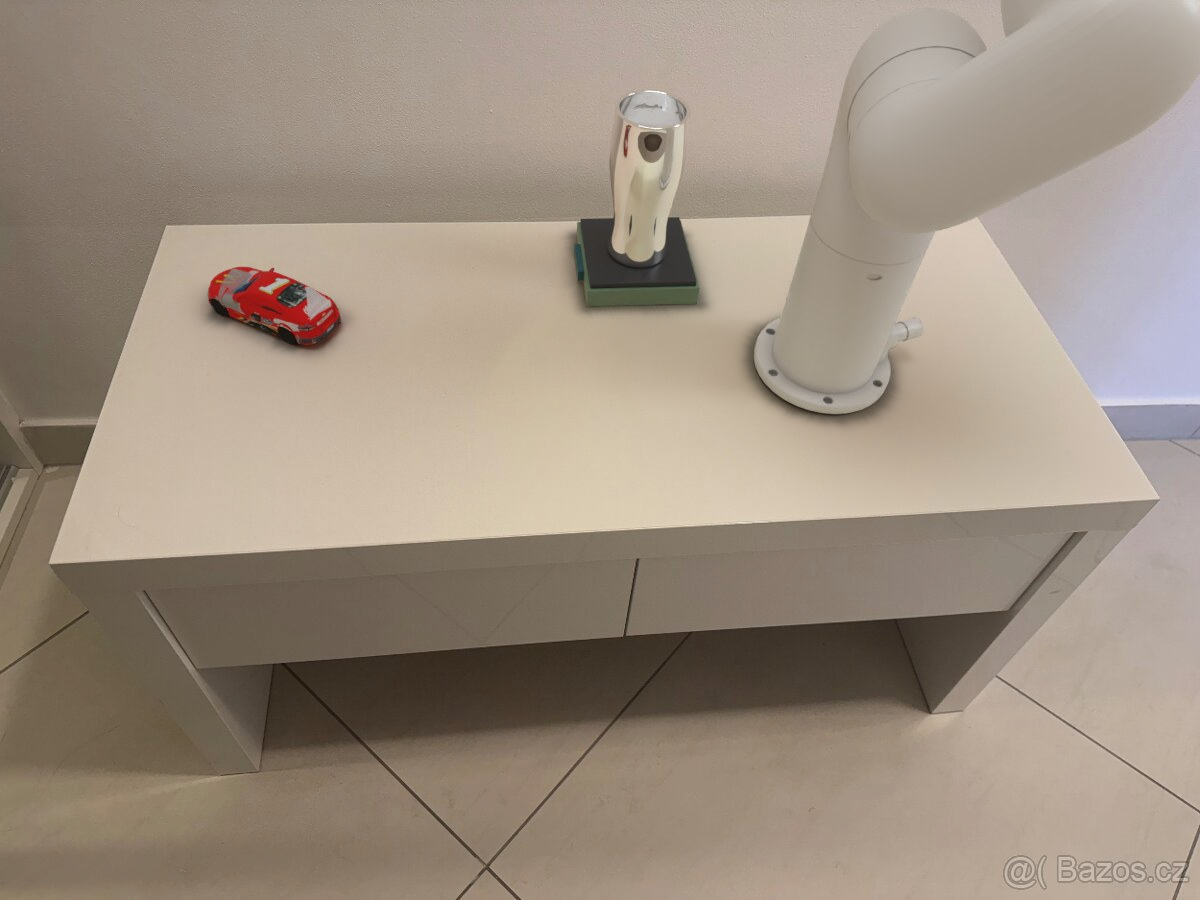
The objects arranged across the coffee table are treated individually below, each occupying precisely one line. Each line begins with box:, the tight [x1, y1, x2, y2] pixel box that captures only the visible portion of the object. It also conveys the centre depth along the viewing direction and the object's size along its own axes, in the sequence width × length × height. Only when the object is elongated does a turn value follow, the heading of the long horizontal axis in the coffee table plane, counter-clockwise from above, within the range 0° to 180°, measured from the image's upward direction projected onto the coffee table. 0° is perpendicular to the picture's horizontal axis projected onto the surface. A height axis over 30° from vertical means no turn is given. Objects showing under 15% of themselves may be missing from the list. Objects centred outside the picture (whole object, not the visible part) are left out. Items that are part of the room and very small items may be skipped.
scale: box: [573, 216, 700, 307], centre depth 87 cm, size 12×11×3 cm
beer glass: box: [607, 89, 691, 268], centre depth 80 cm, size 7×7×15 cm
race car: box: [207, 266, 342, 346], centre depth 79 cm, size 13×5×4 cm, turn 63°
